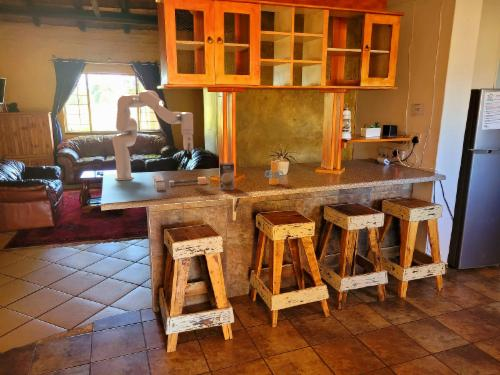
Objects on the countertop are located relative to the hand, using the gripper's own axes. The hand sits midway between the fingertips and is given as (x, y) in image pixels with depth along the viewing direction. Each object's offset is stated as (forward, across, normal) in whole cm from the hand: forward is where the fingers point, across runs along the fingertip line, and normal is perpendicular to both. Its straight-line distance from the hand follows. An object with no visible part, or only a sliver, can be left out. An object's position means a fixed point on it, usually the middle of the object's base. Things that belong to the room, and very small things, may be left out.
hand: (188, 158), depth 239 cm
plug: (+17, -1, +1) cm, 17 cm away
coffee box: (+17, -22, -20) cm, 34 cm away
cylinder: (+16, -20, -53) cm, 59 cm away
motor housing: (+17, -1, +20) cm, 26 cm away
